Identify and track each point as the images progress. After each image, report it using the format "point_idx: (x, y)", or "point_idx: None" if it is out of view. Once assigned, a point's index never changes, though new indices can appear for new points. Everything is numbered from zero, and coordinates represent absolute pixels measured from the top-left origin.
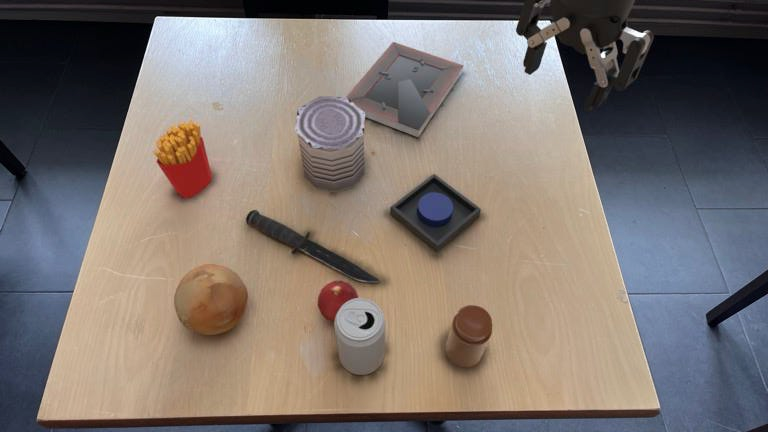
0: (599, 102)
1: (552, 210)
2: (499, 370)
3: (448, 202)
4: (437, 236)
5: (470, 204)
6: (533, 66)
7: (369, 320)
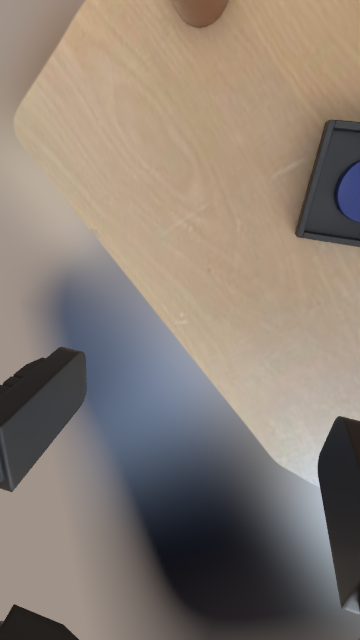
0: (17, 374)
1: (212, 302)
2: (145, 8)
3: (352, 212)
4: (339, 149)
5: (316, 234)
6: (341, 456)
7: None
